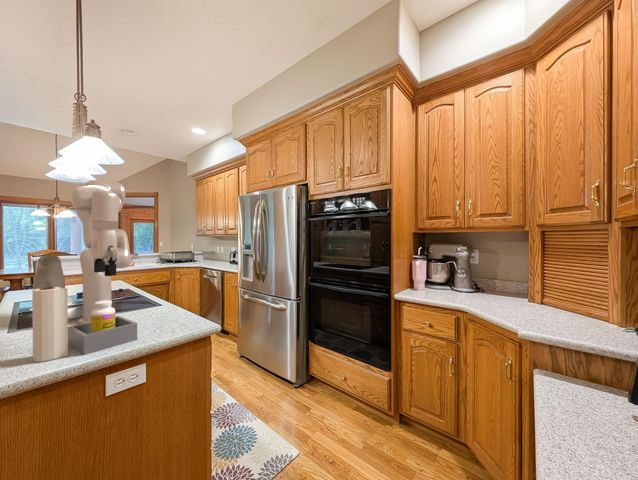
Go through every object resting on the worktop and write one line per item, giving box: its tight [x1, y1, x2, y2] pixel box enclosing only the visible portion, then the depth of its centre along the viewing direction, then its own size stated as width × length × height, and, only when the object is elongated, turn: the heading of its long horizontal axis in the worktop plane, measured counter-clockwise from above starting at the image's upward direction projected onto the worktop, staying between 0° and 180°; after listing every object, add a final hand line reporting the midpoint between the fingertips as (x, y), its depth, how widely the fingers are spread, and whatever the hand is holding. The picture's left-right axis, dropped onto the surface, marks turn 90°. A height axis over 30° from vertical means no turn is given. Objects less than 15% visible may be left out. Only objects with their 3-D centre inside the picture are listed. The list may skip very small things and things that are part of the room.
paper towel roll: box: [31, 287, 69, 363], centre depth 81 cm, size 7×6×21 cm
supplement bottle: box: [91, 299, 116, 333], centre depth 94 cm, size 7×7×13 cm
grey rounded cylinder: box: [32, 254, 66, 290], centre depth 120 cm, size 10×10×28 cm
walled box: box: [68, 315, 138, 356], centre depth 94 cm, size 15×15×6 cm
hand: (104, 273), depth 96 cm, fingers open, 9 cm apart
